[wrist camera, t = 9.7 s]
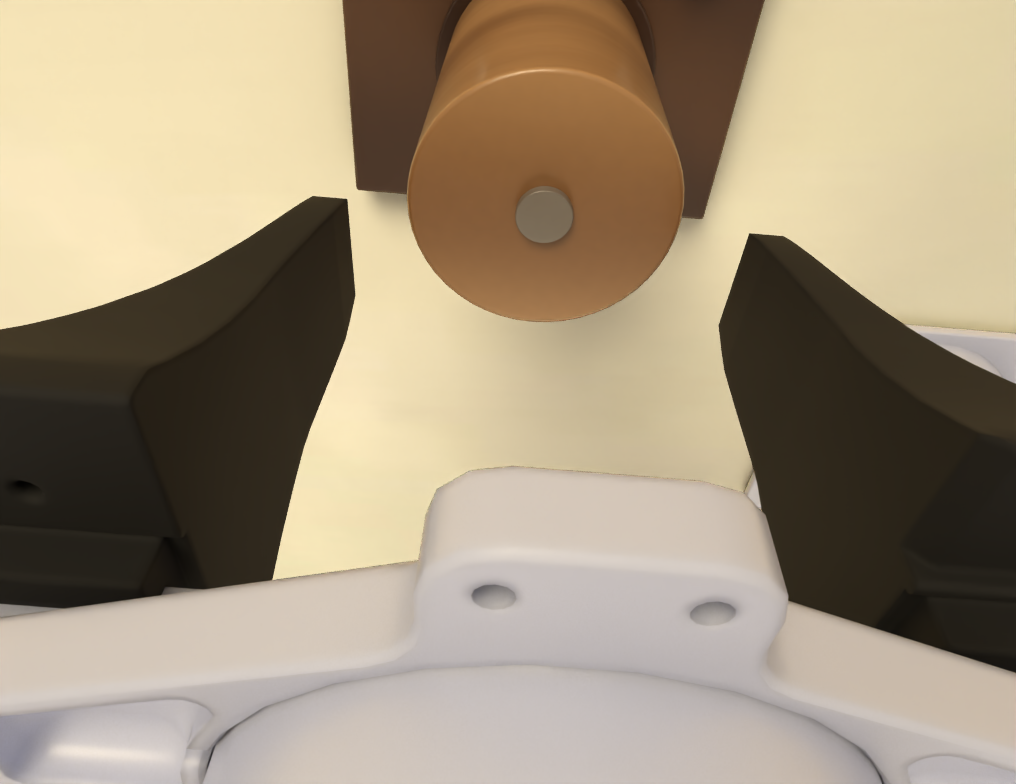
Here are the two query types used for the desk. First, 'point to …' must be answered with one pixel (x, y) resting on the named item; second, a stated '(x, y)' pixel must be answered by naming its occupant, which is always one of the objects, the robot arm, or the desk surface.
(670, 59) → the base board
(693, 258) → the desk surface
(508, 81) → the battery
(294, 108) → the desk surface
